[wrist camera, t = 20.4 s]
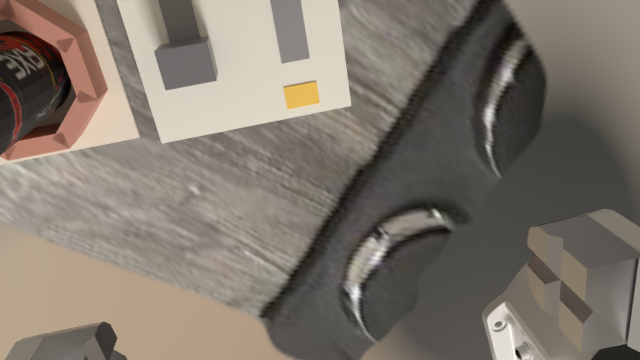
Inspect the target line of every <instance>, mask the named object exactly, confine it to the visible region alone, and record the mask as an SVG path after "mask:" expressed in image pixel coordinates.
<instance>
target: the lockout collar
mask: <svg viewBox="0 0 640 360" xmlns="http://www.w3.org/2000/svg"><path fill="white" fill-rule="evenodd" d="M11 31H19V32H27V33H30V34H33V35H36V36H38V37H40V38H41V39H43V40H45V41H46V42H48V43H50V44H52V45H53V46H54V47H55V48H56V49H57V50H58V51H59V52H60V54H61V56H62V59H63V61H64V64H65V67H66V69H67V72H68V74H69V77H70V80H71V88H70V92H69V96H68V97H67V99H66V100H65V102H64V104H63V105H61V106H60V107H59V108H58V109H57V110H55V111H54V112H53V113H52V114H51V115H49V116H48V117H47V118H46V119H44V120H43V121H42V122H41V123H40V124H38V125H37V126H36V127H35V128H33V129H32V130H31V131H30V132H29V133H27V134H26V135H25V136H24V137H22V138H21V139H20V140H19V141H18V142H16V143H15V144H14V145H13V146H11V147H10V148H9V149H8V150H7V151H5V152H4V153H3V154H2V155H0V165H3V164H8V163H13V162H18V161H23V160H28V159H33V158H38V157H43V156H48V155H53V154H58V153H63V152H69V151H74V150H79V149H84V148H89V147H94V146H99V145H104V144H109V143H114V142H119V141H124V140H129V139H134V138H140V136H141V135H140V132H139V129H138V126H137V123H136V120H135V117H134V114H133V111H132V108H131V105H130V102H129V99H128V96H127V93H126V90H125V87H124V84H123V81H122V78H121V75H120V72H119V69H118V66H117V63H116V60H115V57H114V54H113V51H112V48H111V45H110V42H109V39H108V36H107V33H106V30H105V27H104V24H103V21H102V18H101V15H100V12H99V9H98V6H97V3H96V0H0V33H3V32H11Z"/></svg>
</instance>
